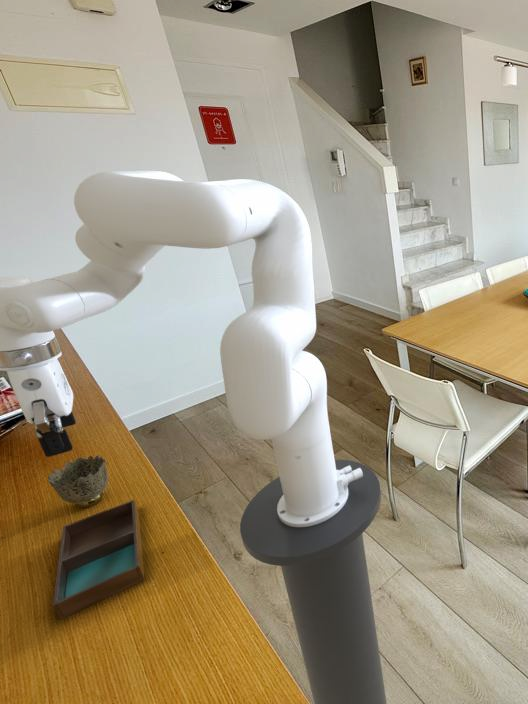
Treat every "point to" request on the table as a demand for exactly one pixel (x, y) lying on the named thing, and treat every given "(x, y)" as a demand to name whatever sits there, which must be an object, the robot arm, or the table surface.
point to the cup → (81, 481)
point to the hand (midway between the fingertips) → (62, 439)
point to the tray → (98, 558)
